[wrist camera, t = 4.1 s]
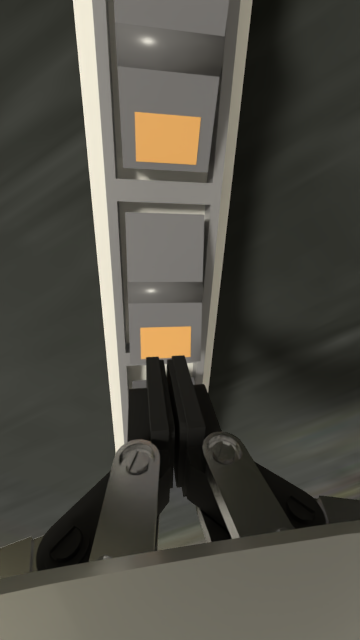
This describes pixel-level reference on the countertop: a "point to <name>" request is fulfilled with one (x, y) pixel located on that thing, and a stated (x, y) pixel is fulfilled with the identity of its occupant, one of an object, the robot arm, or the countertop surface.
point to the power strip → (152, 188)
